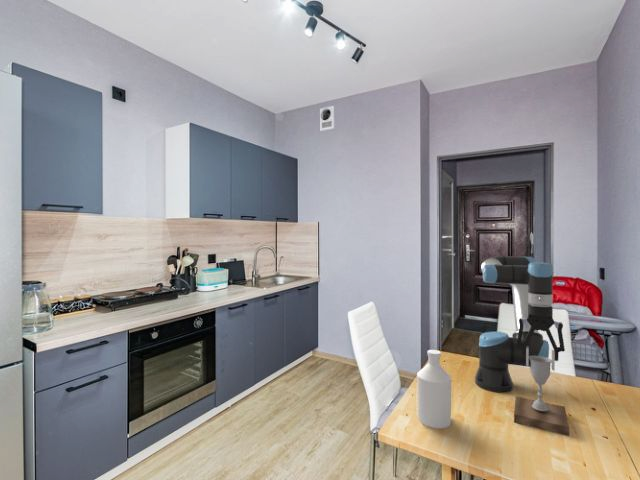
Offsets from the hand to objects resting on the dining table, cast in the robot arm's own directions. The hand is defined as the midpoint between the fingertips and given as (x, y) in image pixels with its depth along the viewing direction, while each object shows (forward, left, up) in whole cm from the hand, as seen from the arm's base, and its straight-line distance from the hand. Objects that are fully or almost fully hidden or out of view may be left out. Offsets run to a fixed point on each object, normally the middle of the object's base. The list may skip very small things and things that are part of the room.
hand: (540, 366), depth 124 cm
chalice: (0, 0, -15) cm, 15 cm away
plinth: (0, 0, -19) cm, 19 cm away
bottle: (-33, -21, -19) cm, 44 cm away
